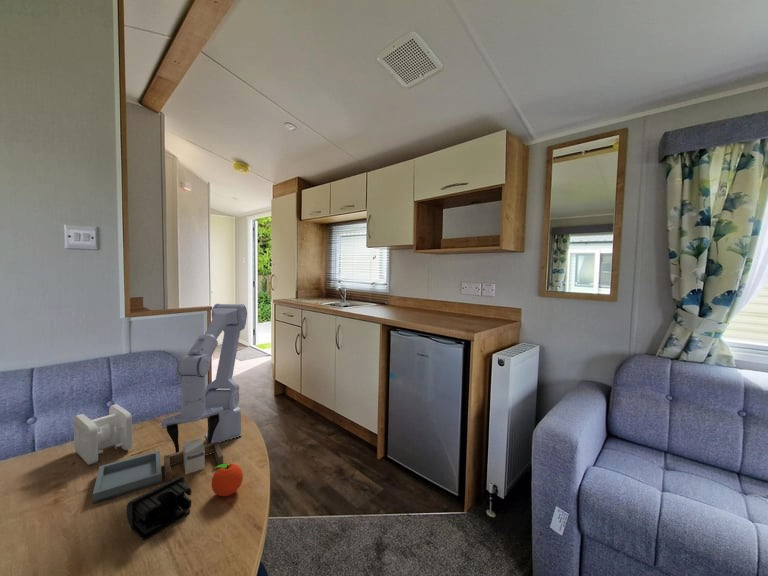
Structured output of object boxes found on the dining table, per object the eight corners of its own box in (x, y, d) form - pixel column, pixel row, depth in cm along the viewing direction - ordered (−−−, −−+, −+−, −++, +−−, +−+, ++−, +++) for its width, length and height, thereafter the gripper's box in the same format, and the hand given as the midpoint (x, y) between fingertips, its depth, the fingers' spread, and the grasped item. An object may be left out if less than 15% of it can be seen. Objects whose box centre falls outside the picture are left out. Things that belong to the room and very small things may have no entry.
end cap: (177, 499, 75) (177, 472, 75) (193, 512, 71) (193, 482, 71) (126, 528, 66) (125, 496, 66) (141, 543, 63) (140, 510, 62)
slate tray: (160, 458, 91) (159, 450, 91) (161, 482, 81) (161, 473, 80) (99, 475, 83) (99, 466, 83) (92, 504, 73) (92, 493, 73)
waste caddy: (201, 458, 92) (201, 438, 91) (205, 470, 86) (205, 449, 86) (183, 463, 89) (183, 442, 89) (185, 476, 83) (185, 454, 83)
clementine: (200, 500, 75) (200, 471, 74) (220, 481, 81) (220, 454, 81) (230, 505, 73) (230, 475, 73) (248, 485, 80) (248, 458, 80)
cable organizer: (134, 452, 94) (134, 414, 93) (87, 470, 85) (86, 428, 85) (116, 437, 102) (115, 402, 102) (71, 452, 93) (70, 414, 93)
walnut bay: (217, 449, 96) (217, 441, 96) (223, 464, 89) (223, 455, 89) (164, 464, 88) (163, 456, 88) (165, 482, 81) (165, 473, 81)
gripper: (162, 409, 80) (162, 462, 80) (225, 397, 88) (225, 444, 89) (161, 400, 85) (161, 449, 86) (220, 389, 94) (220, 434, 94)
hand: (193, 446), depth 88 cm, fingers open, 7 cm apart
